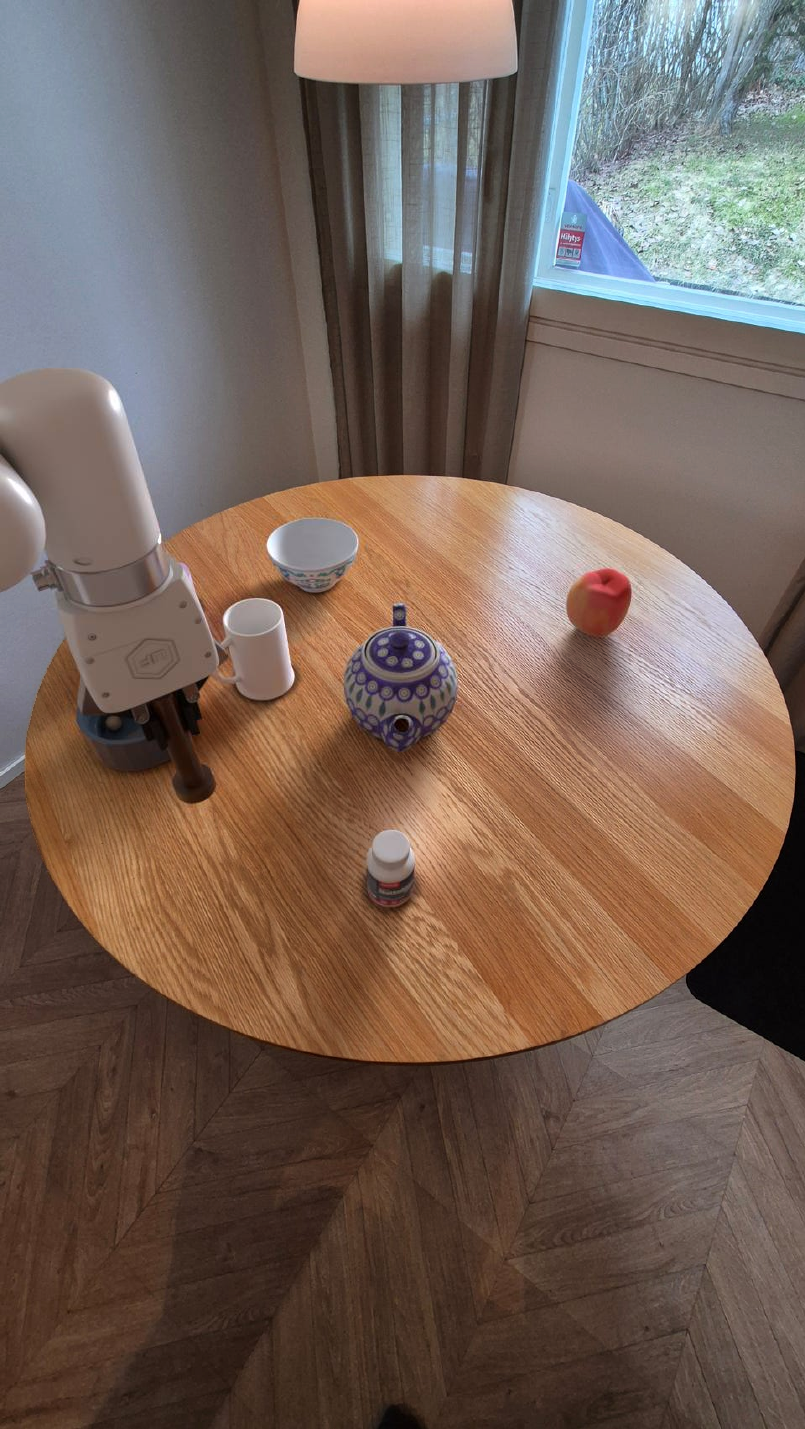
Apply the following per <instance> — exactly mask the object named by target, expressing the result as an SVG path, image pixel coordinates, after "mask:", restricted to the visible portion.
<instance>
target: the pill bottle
mask: <svg viewBox="0 0 805 1429" xmlns="http://www.w3.org/2000/svg"><path fill="white" fill-rule="evenodd" d="M415 859H416V858H415V854H414V851H413V849H412V848H411V844H410V841H409V838H408V837H407V836H406V834H404V833H403V832H401V831H399V830H395V829H386V830H383V831H381V832H379V833H378V834H376V836H375V837H374V838H373V841H372V844H371V847H370V848H369V850H368V852H367V854H366V860H365V862H366V863H365V865H366V887H367V888H366V890H367V893H368V895H369V897H370V899H372V901H373V902H374V903H376V904H378V905H379V906H382V907H386V908H396V907H398V906H401V905H403V904H404V903H406V902H407V901H408V900H409V899H410V897H411V895H412V894H413V890H414V883H415V882H414V881H415V865H416V864H415V863H416V860H415Z"/></svg>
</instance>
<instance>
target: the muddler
mask: <svg viewBox="0 0 805 1429" xmlns="http://www.w3.org/2000/svg"><path fill="white" fill-rule="evenodd" d="M148 702H149V705H150V707H151V710H152V711H153V712H154V713H155V715H156V717H157V719H158V721H159V723H160V726H161V728H162V731H163V734H164V736H165V739H166V741H167V744H168V746H169V747H167V750H168V752H169V755H170V757H171V758H170V760H171V762H172V764H173V767H174V770H175V772H174V774H173V776H172V780H171V786H172V788H173V790H174V793H175V795H176V797H177V799H178V800H180V801H181V802H183V803H185V804H191V805H193V804H194V805H195V804H199V803H203V802H205V801H206V800H208V799H210V798H211V797H212V795H213V794H214V793H215V790H216V787H217V782H216V781H217V780H216V778H215V775H214V772H213V770H212V769H211V767H210V766H209V765H206V764H205V763H203V762H202V763H201V760H200V757H199V754H198V751H197V748H196V746H195V742H194V740H193V736H192V734H190V731H189V728H188V726H187V723H186V720H185V717H184V714H183V711H182V708H181V705H180V703H179V699H178V696H177V693H176V690H175V691H173V692H170V693H168V694H165V695H163V696H161V697H158V698H156V699H153V700H151V701H148Z"/></svg>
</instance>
